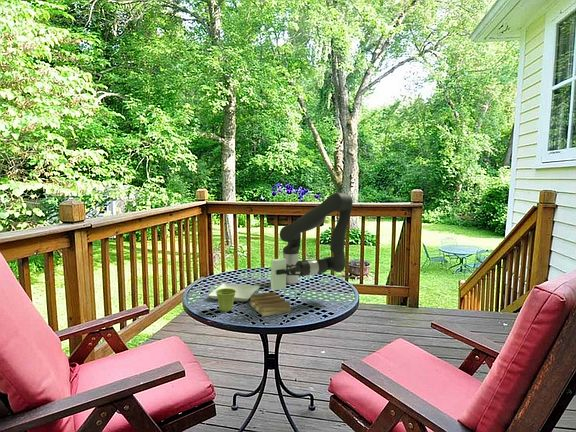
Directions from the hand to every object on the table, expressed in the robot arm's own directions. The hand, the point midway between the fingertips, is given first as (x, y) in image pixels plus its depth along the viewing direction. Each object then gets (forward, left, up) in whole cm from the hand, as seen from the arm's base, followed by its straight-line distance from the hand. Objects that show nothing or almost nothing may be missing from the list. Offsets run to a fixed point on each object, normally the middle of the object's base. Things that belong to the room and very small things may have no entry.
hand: (275, 271), depth 176 cm
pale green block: (-1, +2, -8) cm, 9 cm away
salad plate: (-17, -22, -18) cm, 34 cm away
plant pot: (+3, -22, -18) cm, 29 cm away
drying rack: (-1, -2, -18) cm, 18 cm away
